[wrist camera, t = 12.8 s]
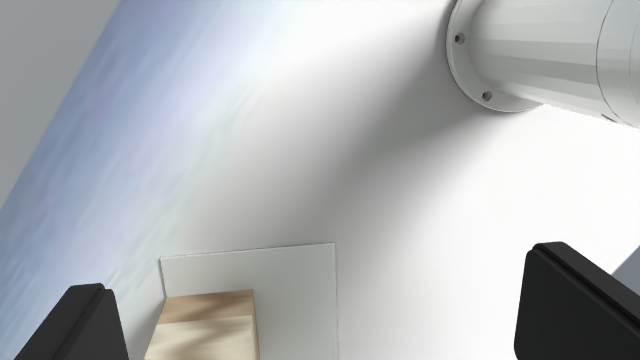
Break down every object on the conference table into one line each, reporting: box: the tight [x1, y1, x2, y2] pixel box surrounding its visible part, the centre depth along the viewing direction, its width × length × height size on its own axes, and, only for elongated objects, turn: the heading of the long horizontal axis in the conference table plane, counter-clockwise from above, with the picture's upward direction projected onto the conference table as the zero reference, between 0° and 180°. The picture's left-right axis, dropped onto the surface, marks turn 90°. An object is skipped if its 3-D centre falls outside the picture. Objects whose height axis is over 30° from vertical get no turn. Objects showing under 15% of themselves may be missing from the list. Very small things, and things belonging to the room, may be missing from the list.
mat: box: [160, 243, 338, 360], centre depth 43 cm, size 16×16×1 cm
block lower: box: [157, 289, 260, 360], centre depth 40 cm, size 8×8×4 cm
